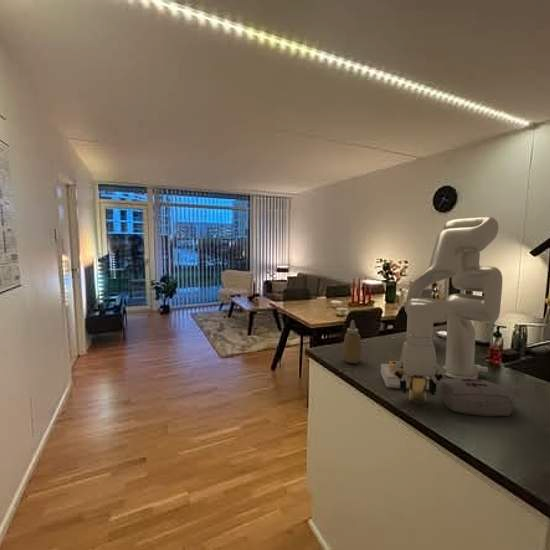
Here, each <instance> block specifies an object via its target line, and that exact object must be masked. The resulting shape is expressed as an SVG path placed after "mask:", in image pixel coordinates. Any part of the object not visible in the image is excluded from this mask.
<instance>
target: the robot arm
mask: <svg viewBox="0 0 550 550" xmlns="http://www.w3.org/2000/svg"><path fill="white" fill-rule="evenodd" d="M498 233H499V223H498V220H496V219H495V218H494V217H492V216H482V217H465V218H456V219H454V218H453V219H450V220H448V221H446V222H444V225H443V229H442V230H441V231H440V232H438V234H437V236H436V240H435V243H434V247H433V251H432V255H431V258H430V262H429V266H428V268H426V269H425V270H424V271H423V272H421V273H420V274H419V275H418V276H417V277H416V278H415V279H414V280H413V282H412V283H411V284H410V286H409V287H408V289H407V294H406V298H405V302H404V312H405V313H406V316H407V318H406V319H407V320H406V341H403V344H402V349H401V355H400V360H398V361H399V362H397V363H395V364H394V365H392V366H391V368H392V370H393V372H394V373H395V375H396V376H397V377H398V378H399V379H400V388H399V389H400V390H401V392H402V394H406V393H407V389H406V381H405V379H406V378H407V376H408V375H416V376H427V377H429V390H428V392H429V393H430V395H431V396H435V393H436V392H437V384H438V383H439V382H440V381H441V380H442V379H443V377H444V376H446V377H448V378H450V379H466V378H470V379H478V378H479V372H482V373H488V372H489V367H488V366H481V364H476V363H475V354H476V352H475V350H476V349H475V348H476V336H477V335H476V329H475V326H474V325H473V323H472V322H473V321H474V322H475V321H476V322H480V323H489V324H492V323H493V324H494V323H496V322H497V321H498V319H499V317H500V313H501V304H502V303H501V302H502V294H503V275H502V272H501V270H500V269H499V268H498V267H495V266H487V265H484V266H483V265H480V257H481V254H480V253H481V252H483V250H485V249H486V248H487V247H488V246H489V245H490V244H491V243H492V242H493V241H494V240H495V239H496V237H497V235H498ZM450 278H451V284H452V287H453V288H455V289H456V290H460V291H461V290H462V291H468V292H476V293H477V292H478V293H479V292H480V293H483V295H476V294H475V295H474V294H470V293H469V294H468V293H453V294H452V293H451V294H449V295H448V296H447V297H446V299H445V300H443V299H437V298H433V297H432V298H425V297H420V296H421V293H422V292H423V290H424V289H425V288H426V287H430V286H431V285H432V284H435V283H438V282H441V281H444V280H447V279H450ZM471 321H472V322H471ZM444 322H445V323H446V339H445V341H446V345H445V361H444V362H445V365H443V366H441V365H440V364H438V363H437V354H436V347H435V345H434V342H438V337H437V336H434V324H438V323H439V324H440V323H441V324H443V323H444ZM399 367H401V369H402V370H403V371H402V372H401V373H399V372H398V371H397V368H399ZM437 370H438V371H437Z"/></svg>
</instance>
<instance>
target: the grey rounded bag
mask: <svg viewBox="0 0 550 550" xmlns="http://www.w3.org/2000/svg"><path fill="white" fill-rule="evenodd" d="M438 383H439V384H438V392H439V396H440V399H441V401H442V403H443V404H444V406H446V408H447V409H448V410H450V411H451V412H455V413H460V414H463V415H469V414H472V415H471V416H478V415H481V417H504V416H506V417H507V416H510V415H511V414H512V413H513V411H514V407H515V406H516V404H517V402H516V399H515V397H514V396H513V394H512V393H511V392H510V391H508V390H507V389H506V388H504V387H503V386H500V385H499V384H497V383H494V382H493V381H492V382H490V381H487V380H484V379H478V378H477V379H470V378H466V379H455V378H447V379H440V380H439V381H438Z"/></svg>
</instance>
